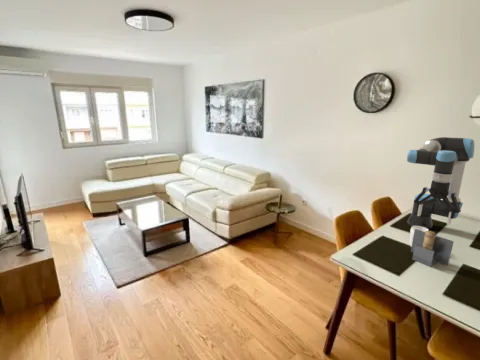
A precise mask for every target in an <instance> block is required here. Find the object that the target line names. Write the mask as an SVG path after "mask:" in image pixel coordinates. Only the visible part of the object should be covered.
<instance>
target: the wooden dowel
mask: <svg viewBox="0 0 480 360" xmlns="http://www.w3.org/2000/svg"><path fill="white" fill-rule="evenodd" d="M435 235H436V232H435V231H432V230H429V231H426V232H425V237H424V242H423V247H425V248H428V249H430V250H432V248H433V243H434V239H435Z"/></svg>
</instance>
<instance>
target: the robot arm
mask: <svg viewBox="0 0 480 360" xmlns="http://www.w3.org/2000/svg"><path fill="white" fill-rule="evenodd" d="M474 156H475V140H474V139H472V138H465V137H446V136H445V137H444V136H443V137H440V136H439V137H436V138H432V139H429V140H427V141H425V143H424V144H423V146H421V147H420V148H419V149H409V151H408V152H407V157H406V160H407V163H411V164H414V165H415V164H417V165H426V166H427V165H428V166H434V169H433V173H432V181H431V184H430V188H429V187H428V186H425V187H423V188H422V191H421V192H420V193H418V194H415V196H414V200H413V206H412V210H411V211H412V212H411V214H410V215H409V217H408V219H407V221H406V222H407V225H409V226H411V227H412V226H422V227H425V228H427V229H428V230H430V229H432V228H433V225H434V223H433V219H432V215H436V216H440V217H445V218H447V222H446V225H450V224H451V222H452V220H453V219H454V220H455V219H456V218H458V216H459V214H460V212H461V211H462V210H461V209H462V207H463V204H464V203H463V202H461V198H460V197H459V195H460V191H461V186H462V182H463V177H464V172H465V168H466V163H468V162H469V161H470V159H474ZM427 192H429V193H427Z"/></svg>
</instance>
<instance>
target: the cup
mask: <svg viewBox="0 0 480 360" xmlns="http://www.w3.org/2000/svg"><path fill="white" fill-rule="evenodd" d="M415 229H417V230H420V231H423V232H426V231H430V229H427V228H425V227H422V226H411V228H410V231H409V245H410V248H411V247H412V242H413V236H414V231H415Z"/></svg>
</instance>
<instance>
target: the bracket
mask: <svg viewBox="0 0 480 360" xmlns="http://www.w3.org/2000/svg"><path fill="white" fill-rule="evenodd" d="M424 237H425V232H423V231H420V230H417V229H415V231H414V236H413V242H412V247H411V246H410V252H411V253H412V259H411V260H413V261H414V262H418V263H420V264H422V265H424V266H426V267H430V268H431V267H433V266H434V265H435V264H436V263H438V264H441V265H444V266H446V267H448V266H449V264H450V259H451V255H452V250H453V246H454V243H455V242H454V240H451V239H447V238H445V237H442V236H439V235H436V234H435V239H434V243H433V248H432V250H430V249H428V248H425V247H423V242H424Z"/></svg>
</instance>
